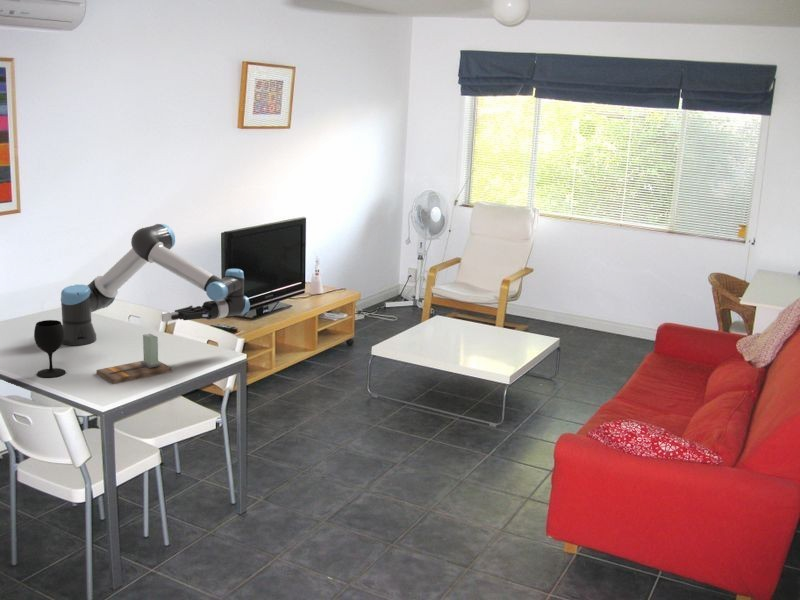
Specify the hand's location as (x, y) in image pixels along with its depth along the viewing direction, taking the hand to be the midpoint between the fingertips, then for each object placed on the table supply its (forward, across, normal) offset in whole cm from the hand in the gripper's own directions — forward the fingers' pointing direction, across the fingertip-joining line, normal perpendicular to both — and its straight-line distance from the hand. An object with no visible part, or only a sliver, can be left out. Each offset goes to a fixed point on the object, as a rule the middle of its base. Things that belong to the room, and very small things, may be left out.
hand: (162, 318), depth 327 cm
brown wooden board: (+12, 0, -20) cm, 24 cm away
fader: (+5, 0, -18) cm, 19 cm away
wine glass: (+38, +17, -20) cm, 46 cm away
